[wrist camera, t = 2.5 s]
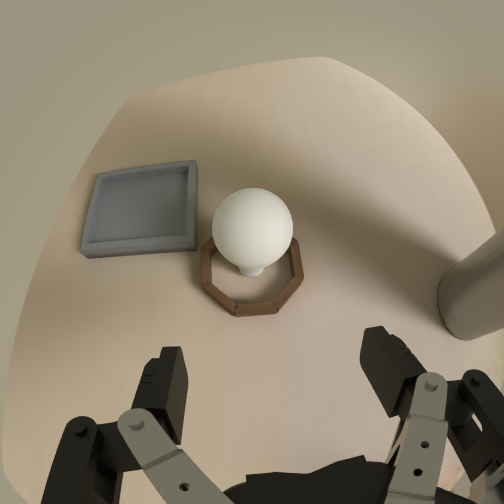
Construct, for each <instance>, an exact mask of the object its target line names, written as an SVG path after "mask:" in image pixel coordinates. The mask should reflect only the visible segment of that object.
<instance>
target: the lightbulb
mask: <svg viewBox="0 0 504 504" xmlns="http://www.w3.org/2000/svg"><path fill="white" fill-rule="evenodd" d="M212 235H213V239H214V242H215V245H216V247H217V248H218V250H219V252H220V253H221V254H222V255H223V256H224V257H225V258H226V259H227V260H228V261H230V262H231V263H233V264H235V265H237V266H238V267H239V270H240V272H241V273H242V274H243V275H244V276H246V277H250V278H253V277H257V276H259V275H260V274H261V273H262V272H263V270H264V267H265V266H268V265H270V264H272V263H274V262H276V261H277V260H278V259H279V258H280V257H281V256H282V255H283V254H284V253H285V251H286V250H287V249H288V247H289V245H290V242H291V239H292V235H293V222H292V218H291V214H290V212H289V210H288V208H287V206H286V205H285V203H284V202H283V201H282V200H281V199H280V198H279V197H277V196H276V195H275V194H273V193H271V192H270V191H267V190H264V189H260V188H245V189H241V190H238V191H236V192H234V193H232V194H230V195H229V196H227V197H226V198H225V199H224V200H223V201H222V202H221V203H220V205H219V206H218V208H217V210H216V212H215V214H214V217H213V222H212Z"/></svg>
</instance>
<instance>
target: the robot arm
mask: <svg viewBox="0 0 504 504" xmlns="http://www.w3.org/2000/svg"><path fill="white" fill-rule="evenodd" d="M438 304H439V310H440V313H441V317H442V319H443V321H444V323H445V325H446V326H447V328H448V329H449V331H450V332H451V333H452V334H453V335H454V336H456V337H458V338H459V339H462V340H473V339H476V338H478V337H481V336H484V335H487V334H489V333H492V332H495V331H497V330H500V329H502V328H504V226H503V227H502V228H501V229H500V230H499V231H498V232H497V233H495V234H494V235H493V236H492V237H491V238H490V239H488V240H487V241H486V242H485V243H484V244H482V245H481V246H480V247H479V248H478V249H476V250H475V251H474V252H473V253H471V254H470V255H469V256H468V257H466V258H465V259H464V260H462V261H461V262H460V263H458V264H457V265H456V266H454V267H453V268H452V269H450V270H449V271H448V272H447V273H446V274H445V275H444V276H443V278H442V280H441V282H440V285H439V290H438ZM360 364H361V367H362V369H363V371H364V373H365V375H366V376H367V378H368V380H369V382H370V384H371V385H372V387H373V389H374V391H375V393H376V394H377V396H378V398H379V400H380V402H381V404H382V405H383V407H384V409H385V411H386V413H387V415H388V417H389V418H391V417H394V416H397V415H399V417H400V420H399V423H398V426H397V429H396V432H395V436H394V439H393V442H392V445H391V448H390V451H389V453H388V456H387V458H386V460H385V462H384V463H382V462H371V461H367V462H366V459H365V457H364V455H361V456H357V457H353V458H349V459H345V460H341V461H337V462H335V463H332V464H330V465H328V466H326V467H324V468H321V469H319V470H317V471H314V472H312V473H308V474H300V473H283V472H272V473H262V474H249V475H246V482H243V483H240V484H237V485H235V486H232V487H231V488H229V489H227V490H225V491H224V492H222V491H221V490H220V489H219V488H218V487H217V486H216V485H215V484H214V483H213V482H212V481H211V480H210V479H209V478H208V477H207V476H206V475H205V474H204V473H203V472H202V471H201V470H200V469H199V468H198V466H197V465H196V464H195V463H194V462H193V461H192V460H191V459H190V457H189V456H188V455H187V454H186V453H185V452H184V451H183V450H182V449H178V447H177V446H176V445H181V437H182V429H183V421H184V413H185V405H186V398H187V390H188V374H187V370H186V366H185V362H184V357H183V353H182V349H181V347H180V346H175V347H163V348H162V350H161V354H160V357H159V358H152V359H151V360H150V361H149V362H148V363H147V364H146V365H145V367H144V370H143V373H142V376H141V379H140V383H139V385H138V388H137V391H136V394H135V398H134V401H133V404H132V407H131V409H130V410H128V411H126V412H124V413H123V414H122V415H121V416H120V417H119V419H118V421H116V422H112V423H105V424H98V425H97V424H96V423H95V421H94V420H93V419H91V418H89V417H86V416H79V417H76V418H74V419H72V420H70V421H69V422H68V423H67V425H66V427H65V429H64V432H63V434H62V437H61V440H60V443H59V446H58V448H57V451H56V454H55V457H54V460H53V463H52V466H51V470H50V473H49V476H48V479H47V483H46V486H45V490H44V493H43V497H42V501H41V504H119V500H120V492H121V485H122V478H123V472H127V471H134V470H140V469H143V471H144V473H145V474H146V476H147V477H148V478H149V480H150V481H151V483H152V484H153V486H154V487H155V488H156V490H157V491H158V492H159V494H160V495H161V497H162V498H163V499H164V500H165V502H166V503H167V504H504V396H503V395H502V393H501V392H500V391H499V389H498V388H497V387H496V386H495V385H494V383H493V382H492V381H491V380H490V378H489V377H488V376H487V375H486V374H485V373H484V372H482V371H480V370H475V369H472V370H468V371H466V372H465V373H464V375H463V377H462V379H461V380H455V381H446V380H445V378H444V377H442V376H441V375H439V374H437V373H433V372H427V371H426V370H425V368H424V367H423V366H422V364H421V363H420V362H419V361H418V359H417V358H416V357H415V356H414V354H412V352H411V351H410V349H409V348H407V346H406V344H405V343H404V342H403V341H402V340H401V339H400V338H398V337H396V336H395V335H393V334H392V335H389V333H388V332H387V331H386V330H385V328H384V327H383V326H376V327H371V328H366V329H365V331H364V336H363V341H362V347H361V352H360ZM473 413H474V414H475V415H476V417H477V418H478V420H479V421H480V423H481V425H482V432H481V430H480V429H479V427H478V426H477V424H476V422H475V421H474V419H473V418H472V415H473ZM447 437H448V439H449V440H450V442H451V444H452V446H453V448H454V450H455V452H456V454H457V455H458V457H459V459H460V461H461V463H462V465H463V467H464V469H465V471H466V473H467V475H468V477H469V479H470V481H471V483H472V484H471V486H470V495H469V497H468V499H467V498H464V497H462V496H459V495H456V494H454V493H451V492H449V491H447V490H444V489H442V488H439V487H437V483H438V479H439V475H440V470H441V466H442V461H443V456H444V450H445V444H446V438H447Z"/></svg>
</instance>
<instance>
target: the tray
mask: <svg viewBox="0 0 504 504" xmlns="http://www.w3.org/2000/svg"><path fill="white" fill-rule="evenodd" d="M197 183H198V169H197V164H196V160H190V161H181V162H172V163H164V164H156V165H148V166H141V167H135V168H128V169H122V170H116V171H110V172H104V173H99V174H98V175H97V179H96V182H95V186H94V190H93V193H92V197H91V201H90V205H89V209H88V213H87V218H86V222H85V227H84V232H83V236H82V242H81V247H80V251H81V252H82V253H83V254H84V255H85V256H86V257H87V258H101V257H114V256H127V255H140V254H153V253H167V252H180V251H194V250H196V240H197Z"/></svg>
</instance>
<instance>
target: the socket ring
mask: <svg viewBox="0 0 504 504" xmlns="http://www.w3.org/2000/svg"><path fill="white" fill-rule="evenodd" d="M217 250H218V248H217V247H216V245H215V242H214V239H213V237H211V238H210V239H209V240H208V241H207V242H206V243H205V244H204V245H203V246H202V248H201V275H202V287H203V289H204V291H205V292H206V293H207V294H208V295H209V296H210V297H212V298H213V299H214V300H215V301H216V302H217V303H218V304H220V305H221V306H222V307H223V308H224V309H226V310H227V311H228V312H229V313H230V314H231V315H233V316H235V317H243V316H256V315H268V314H276V312H277V313H278V311H279V310H280V309H281V308H282V307H283V305H284V304H285V303H286V302H287V301H288V299H289V298H290V297H291V296H292V295H293V293H294V292H295V291H296V290H297V288H298V287H299V286H300V285H301V283H302V281H303V278H304V274H303V268H302V262H301V256H300V250H299V245H298V242H297V240H296V239H295V238H293V237H292V239H291V242H290V245H289V247H288V249H287V250H288V251H289V257H290V263H291V270H292V277H293V279H292V280H291V281H290V283H289V284H288V285H287V286H286V287H285V289H284V290H283V291H282V292H281V293H280V295H279V296H278V297H277V298H276V299H275V300H274V302H263V303H250V304H236V303H235V302H233V301H232V300H231V299H230V298H229V297H227V296H226V295H225V294H224V293H223V292H221V291H220V290H219V289H218V288H217V287H215V286H214V285H213V284H212V274H211V256H212V255H213V254H214V253H215V252H216V251H217Z"/></svg>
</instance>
